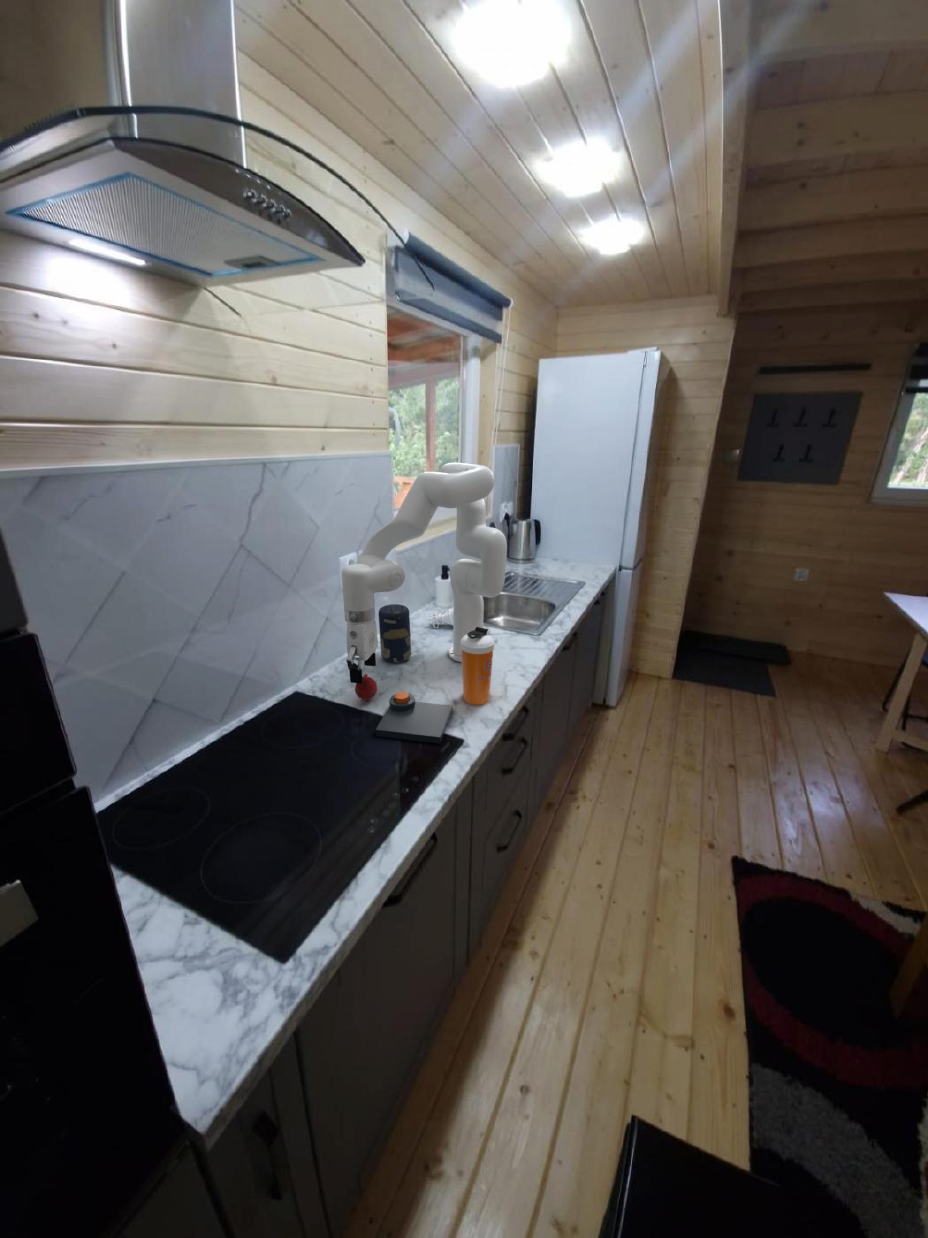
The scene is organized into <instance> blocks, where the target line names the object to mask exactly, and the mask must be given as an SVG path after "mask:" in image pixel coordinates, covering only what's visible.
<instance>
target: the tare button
mask: <svg viewBox="0 0 928 1238" xmlns="http://www.w3.org/2000/svg"><path fill="white" fill-rule="evenodd" d="M408 693H409V692H406V691H399V692H396V693H394V695H395V702H396V703H401V704H402V703H407V702H408V701H409V694H410V693H409V694H408Z"/></svg>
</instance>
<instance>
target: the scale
mask: <svg viewBox="0 0 928 1238" xmlns="http://www.w3.org/2000/svg"><path fill="white" fill-rule="evenodd" d="M407 693H408V694H409V701H408V702H407V703H402V704H401V703H396V702H395V694H393V695H390V697H389V699H388V704H389V706H388V708H387V710H386V711H385V713H384V715H383V716H382V718H381V720H380V721H379V723H378V725H377V726H376V727H375V737H381V738H389V739H398V740H406V741H414V742H422V743H423V742H424V743H429V744H437V745H438V744H439V745H440V744H441V743H442V741H443V738H444V736H445V732H446V730H447V728H448V725H449V722H450V720H451V717H452V714H453V705H449V704H441V703H432V702H431V703H430V702H421V701H416V698H415V696H414V695H413V694H411V693H409V692H407Z"/></svg>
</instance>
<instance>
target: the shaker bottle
mask: <svg viewBox="0 0 928 1238" xmlns="http://www.w3.org/2000/svg"><path fill="white" fill-rule="evenodd" d="M461 649H462V662H461V665H462V666H461V667H462V669H461V670H462V695H463V701H465V702H466V703H468V704H470V705H475V706H476V705H484V704H486V703H488V702H489V700H490V693H491V682H492V671H493V670H492V669H493V659H494V658H493V657H494V650H495V639H494V638H493V637H492V635H491V630H490V629H489V628H485V627H483V628H480V627H475V629H474V630H473V631H471V632H469V633H468V634H466V635H465V636H463V638H462V639H461Z"/></svg>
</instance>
